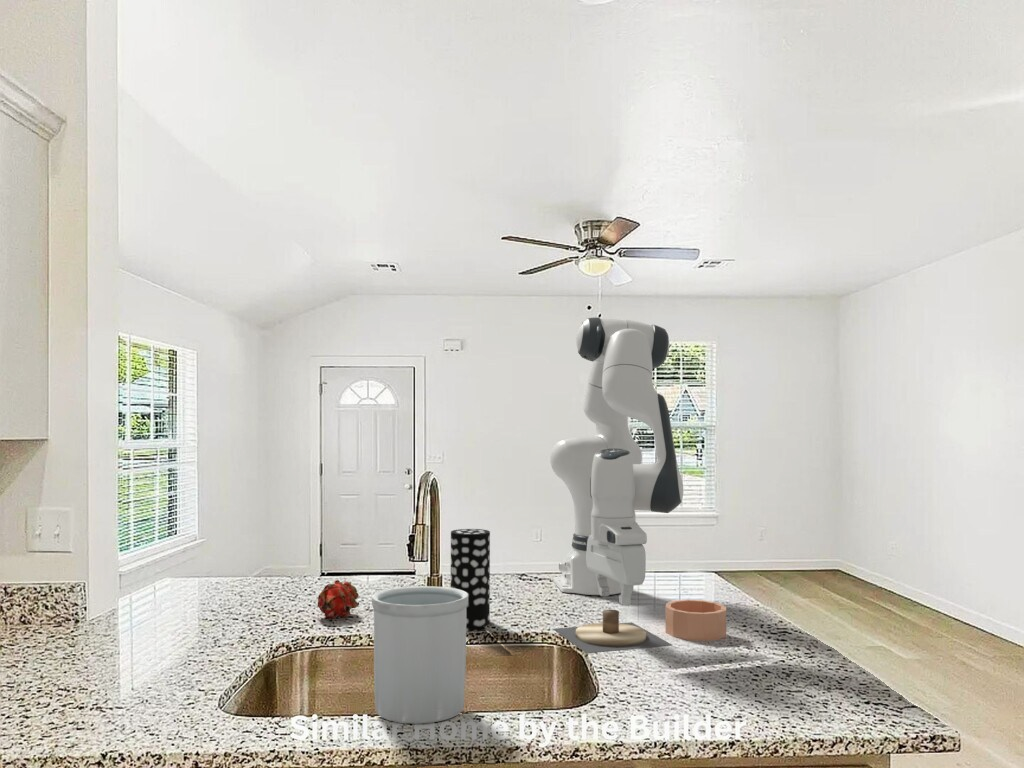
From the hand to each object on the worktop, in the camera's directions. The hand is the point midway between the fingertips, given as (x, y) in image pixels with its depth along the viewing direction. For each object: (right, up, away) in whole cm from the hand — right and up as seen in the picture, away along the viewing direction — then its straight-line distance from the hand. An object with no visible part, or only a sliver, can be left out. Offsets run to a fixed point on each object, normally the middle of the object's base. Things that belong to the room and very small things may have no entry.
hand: (614, 600), depth 169 cm
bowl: (+17, -8, +4) cm, 19 cm away
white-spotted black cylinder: (-29, -9, +11) cm, 32 cm away
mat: (-1, -8, 0) cm, 8 cm away
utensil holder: (-35, -7, -38) cm, 52 cm away
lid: (-1, -7, 0) cm, 7 cm away
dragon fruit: (-59, -9, +18) cm, 62 cm away
